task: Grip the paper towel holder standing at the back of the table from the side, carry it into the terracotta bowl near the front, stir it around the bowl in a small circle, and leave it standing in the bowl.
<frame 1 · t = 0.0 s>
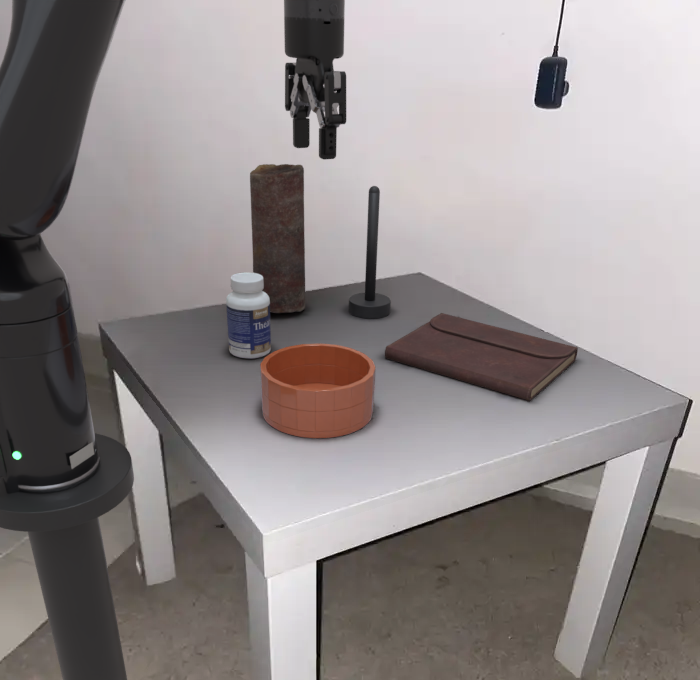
hand: (314, 153, 104), 21 cm above the table, tool pointing down, fingers open, 8 cm apart
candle: (279, 312, 112), on the table
bowl: (317, 411, 85), on the table
notebook: (480, 361, 99), on the table
paper towel holder: (369, 311, 113), on the table
pill bottle: (250, 352, 99), on the table
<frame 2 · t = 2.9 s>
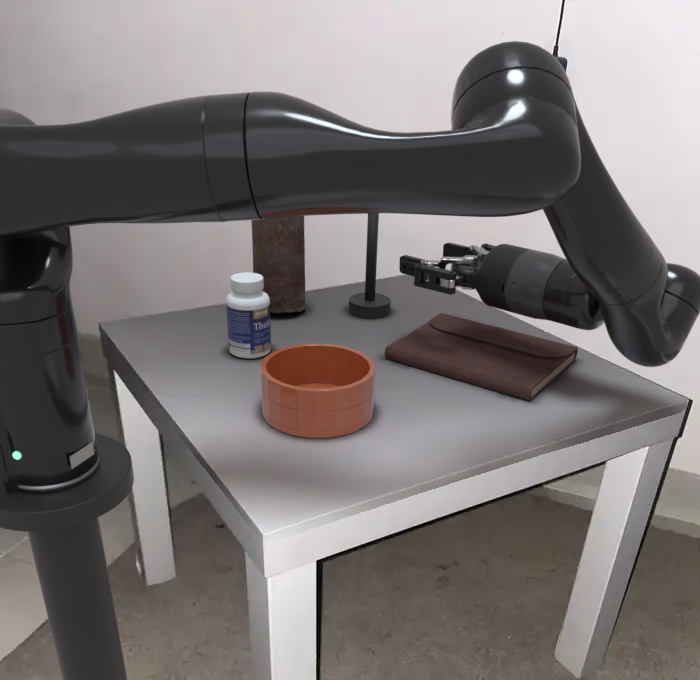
hand: (423, 256, 101), 10 cm above the table, tool horizontal, fingers open, 8 cm apart
nothing on the table moved.
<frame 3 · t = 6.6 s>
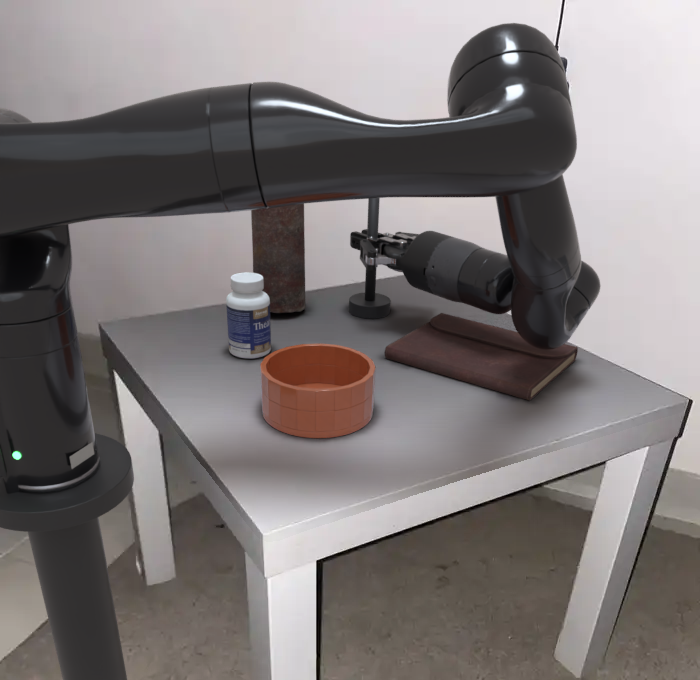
hand: (357, 237, 109), 10 cm above the table, tool horizontal, fingers closed on paper towel holder
paper towel holder: (369, 311, 113), on the table, touching gripper
everything else where it was.
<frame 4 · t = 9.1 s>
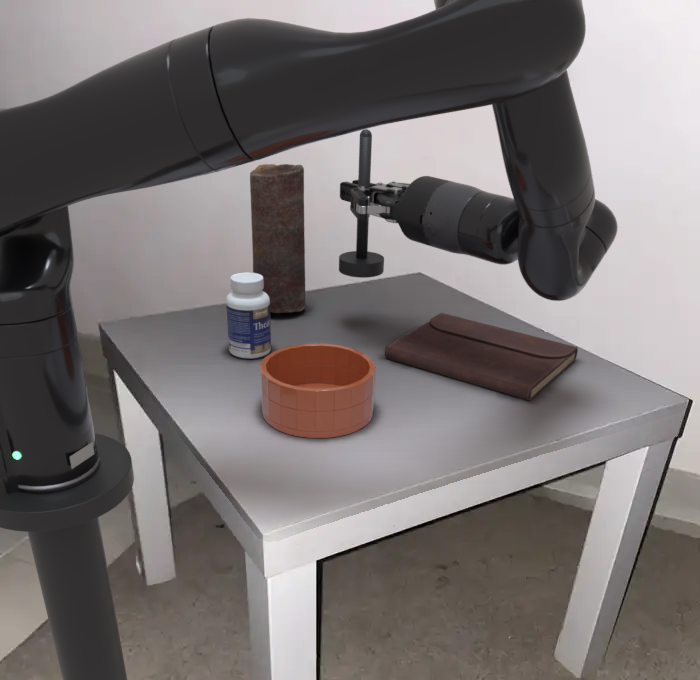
hand: (348, 189, 100), 18 cm above the table, tool horizontal, fingers closed on paper towel holder
paper towel holder: (361, 270, 104), point 8 cm above the table, touching gripper
everything else where it was.
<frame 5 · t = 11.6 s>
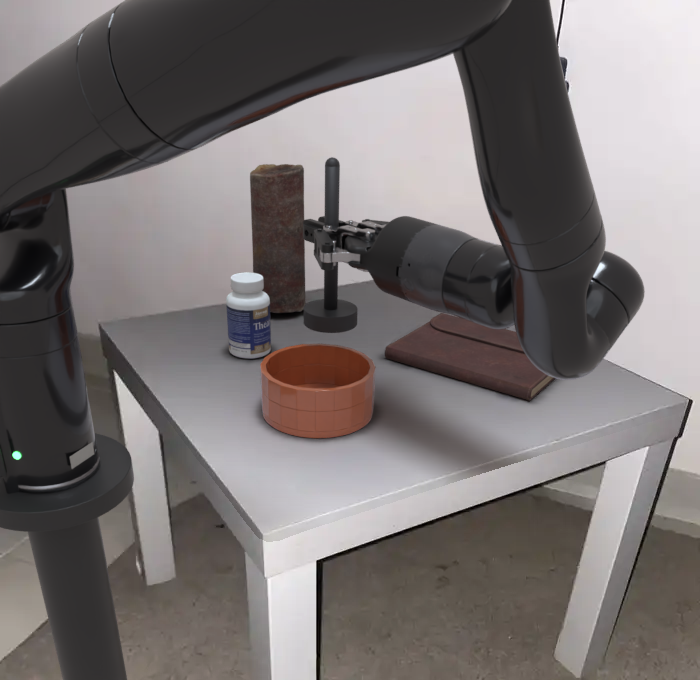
hand: (313, 227, 83), 18 cm above the table, tool horizontal, fingers closed on paper towel holder
paper towel holder: (330, 323, 87), point 8 cm above the table, touching gripper
everything else where it was.
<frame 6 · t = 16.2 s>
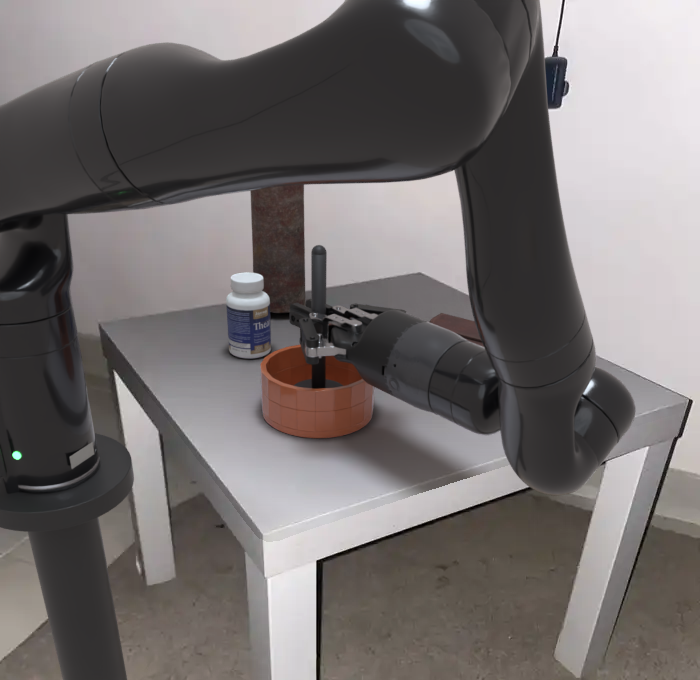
hand: (300, 310, 82), 11 cm above the table, tool horizontal, fingers closed on paper towel holder
paper towel holder: (318, 404, 85), point 1 cm above the table, touching gripper
everything else where it was.
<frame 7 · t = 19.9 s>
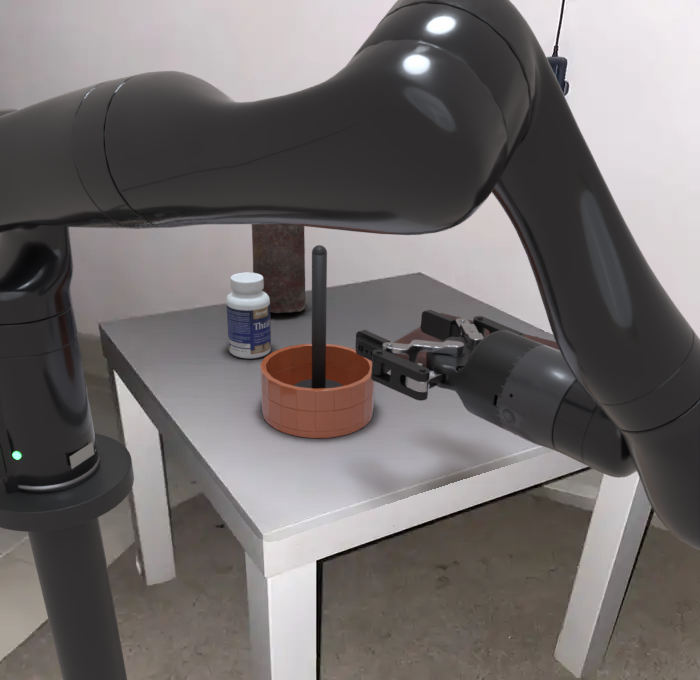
hand: (391, 329, 72), 13 cm above the table, tool horizontal, fingers open, 8 cm apart
paper towel holder: (318, 405, 85), point 1 cm above the table, touching bowl
everything else where it was.
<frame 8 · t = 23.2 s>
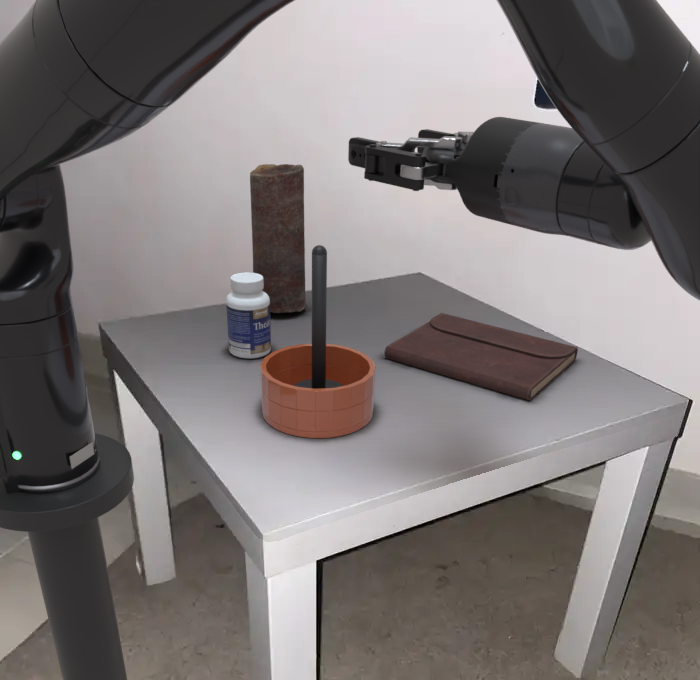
hand: (386, 145, 69), 28 cm above the table, tool horizontal, fingers open, 8 cm apart
nothing on the table moved.
at the end: paper towel holder 0.1 cm off-centre in the bowl, point 0.8 cm above the bowl's base; the gripper is holding nothing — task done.
